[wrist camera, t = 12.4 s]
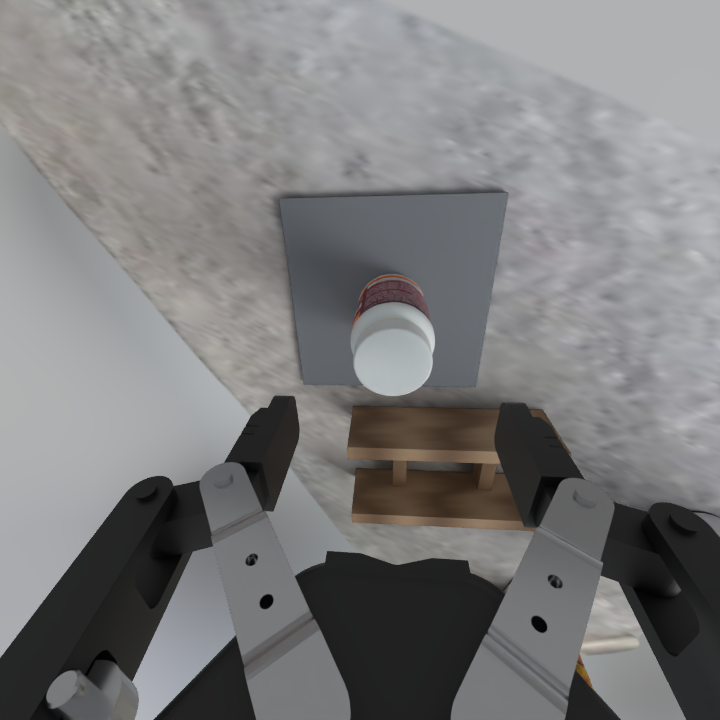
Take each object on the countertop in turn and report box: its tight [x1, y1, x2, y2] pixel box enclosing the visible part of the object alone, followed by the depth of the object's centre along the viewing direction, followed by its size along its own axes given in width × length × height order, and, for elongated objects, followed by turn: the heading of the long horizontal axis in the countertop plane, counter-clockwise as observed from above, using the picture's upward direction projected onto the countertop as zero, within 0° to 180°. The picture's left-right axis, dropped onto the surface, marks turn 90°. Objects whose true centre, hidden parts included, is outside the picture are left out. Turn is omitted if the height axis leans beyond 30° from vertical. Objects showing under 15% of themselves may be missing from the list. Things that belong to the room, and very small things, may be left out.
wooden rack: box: [347, 406, 571, 531], centre depth 29 cm, size 16×9×5 cm, turn 92°
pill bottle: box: [350, 274, 435, 396], centre depth 20 cm, size 5×5×8 cm
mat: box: [279, 192, 508, 387], centre depth 24 cm, size 14×14×1 cm
